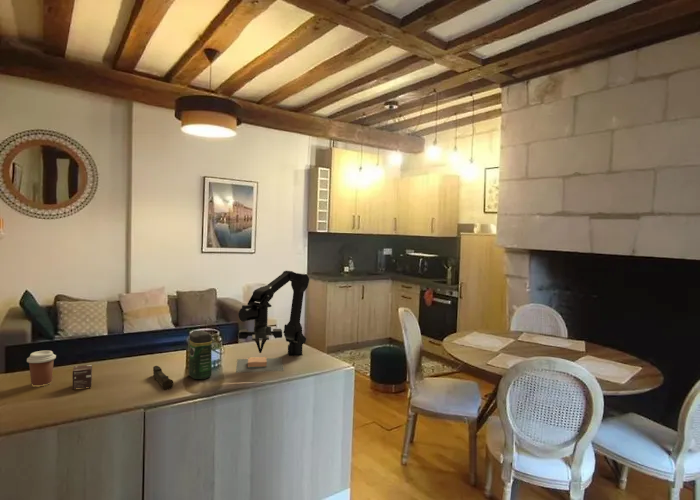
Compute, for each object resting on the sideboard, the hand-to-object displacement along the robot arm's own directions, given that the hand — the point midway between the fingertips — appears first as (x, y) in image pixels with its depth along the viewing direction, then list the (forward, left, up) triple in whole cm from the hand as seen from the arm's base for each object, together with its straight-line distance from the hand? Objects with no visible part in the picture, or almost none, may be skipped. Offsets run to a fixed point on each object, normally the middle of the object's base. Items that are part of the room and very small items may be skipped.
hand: (260, 352), depth 194 cm
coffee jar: (+24, +10, -6) cm, 27 cm away
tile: (-3, 0, -4) cm, 5 cm away
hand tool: (+39, +15, -6) cm, 42 cm away
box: (+66, +17, -6) cm, 68 cm away
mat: (0, 0, -6) cm, 6 cm away
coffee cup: (+81, +12, -6) cm, 82 cm away
